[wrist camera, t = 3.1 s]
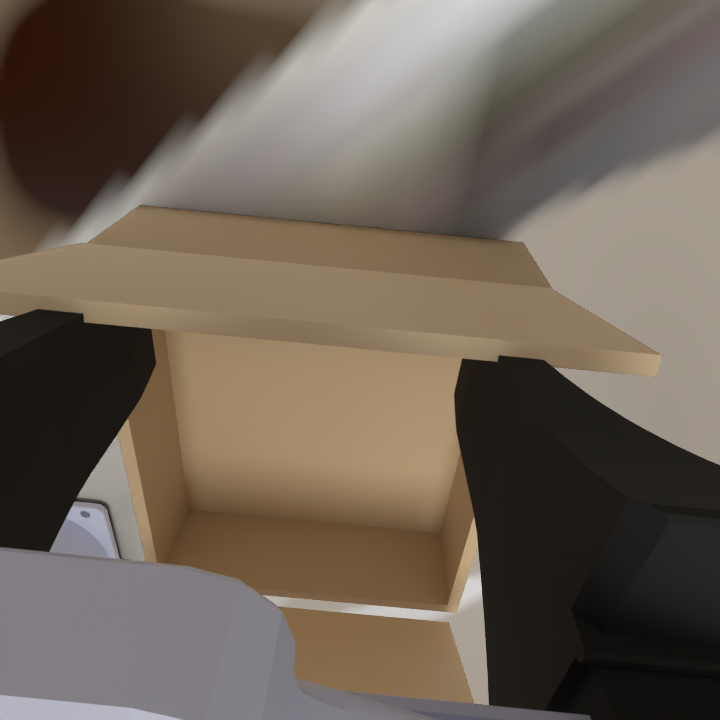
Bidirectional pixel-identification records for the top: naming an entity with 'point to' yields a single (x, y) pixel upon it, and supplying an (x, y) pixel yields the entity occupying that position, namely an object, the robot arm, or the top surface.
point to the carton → (307, 428)
